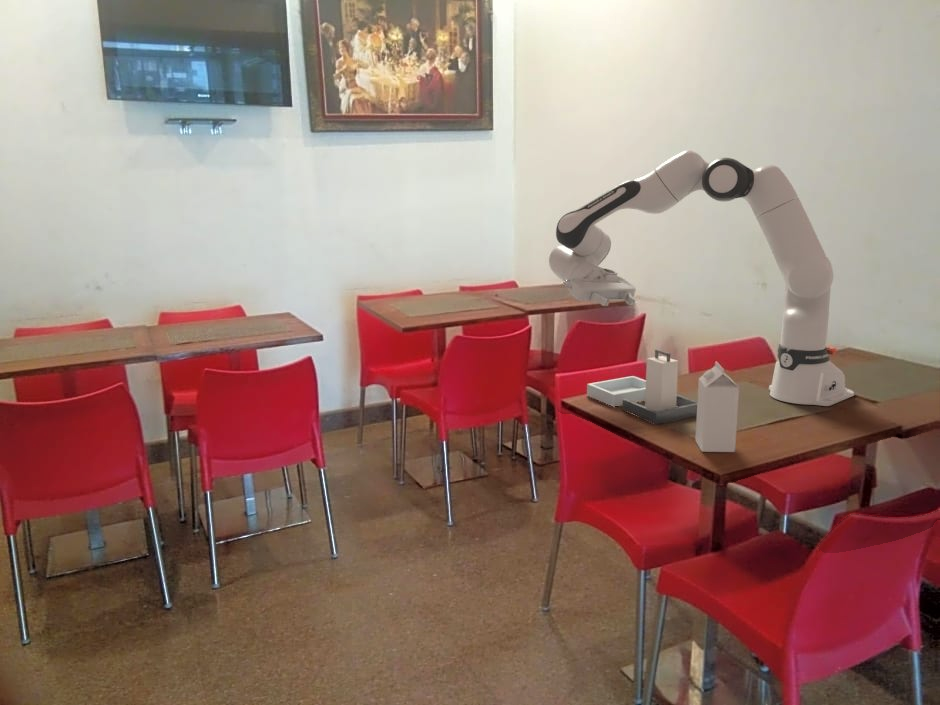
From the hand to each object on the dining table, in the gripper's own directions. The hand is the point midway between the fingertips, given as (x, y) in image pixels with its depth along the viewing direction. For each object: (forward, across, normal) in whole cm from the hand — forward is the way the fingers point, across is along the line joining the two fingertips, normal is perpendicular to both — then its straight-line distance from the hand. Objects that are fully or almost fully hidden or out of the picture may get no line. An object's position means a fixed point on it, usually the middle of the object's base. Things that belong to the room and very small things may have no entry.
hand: (620, 303), depth 192 cm
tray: (+9, +4, +24) cm, 26 cm away
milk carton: (+47, -6, +12) cm, 49 cm away
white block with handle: (+23, +3, +20) cm, 31 cm away
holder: (+23, +3, +20) cm, 31 cm away
